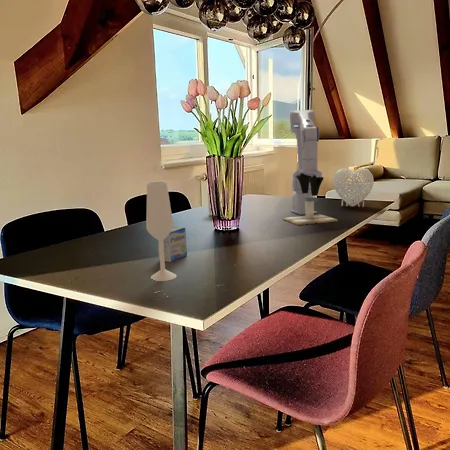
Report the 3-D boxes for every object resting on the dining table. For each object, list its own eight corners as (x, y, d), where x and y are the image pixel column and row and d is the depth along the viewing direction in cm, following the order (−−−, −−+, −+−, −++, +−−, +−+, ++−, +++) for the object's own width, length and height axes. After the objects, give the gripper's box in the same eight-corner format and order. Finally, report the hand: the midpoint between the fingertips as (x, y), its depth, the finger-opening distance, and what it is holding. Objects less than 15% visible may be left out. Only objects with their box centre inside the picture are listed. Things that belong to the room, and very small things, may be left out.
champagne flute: (144, 278, 114) (137, 183, 109) (161, 271, 119) (155, 180, 114) (165, 282, 110) (158, 184, 105) (181, 274, 116) (176, 181, 111)
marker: (303, 218, 178) (303, 197, 177) (311, 217, 179) (311, 197, 178) (307, 219, 175) (307, 199, 174) (315, 218, 176) (315, 198, 174)
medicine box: (170, 262, 127) (168, 232, 125) (158, 261, 129) (156, 231, 128) (187, 255, 134) (185, 227, 132) (175, 254, 136) (173, 226, 134)
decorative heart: (376, 205, 203) (377, 167, 200) (368, 209, 195) (369, 169, 191) (338, 203, 214) (338, 167, 210) (329, 207, 205) (329, 169, 202)
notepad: (282, 219, 181) (282, 217, 181) (320, 215, 186) (320, 213, 186) (298, 225, 169) (298, 223, 169) (337, 221, 174) (337, 218, 174)
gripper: (291, 158, 178) (292, 192, 181) (309, 160, 165) (309, 197, 167) (307, 157, 180) (307, 191, 183) (326, 159, 167) (326, 195, 170)
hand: (309, 194), depth 175 cm, fingers open, 7 cm apart
